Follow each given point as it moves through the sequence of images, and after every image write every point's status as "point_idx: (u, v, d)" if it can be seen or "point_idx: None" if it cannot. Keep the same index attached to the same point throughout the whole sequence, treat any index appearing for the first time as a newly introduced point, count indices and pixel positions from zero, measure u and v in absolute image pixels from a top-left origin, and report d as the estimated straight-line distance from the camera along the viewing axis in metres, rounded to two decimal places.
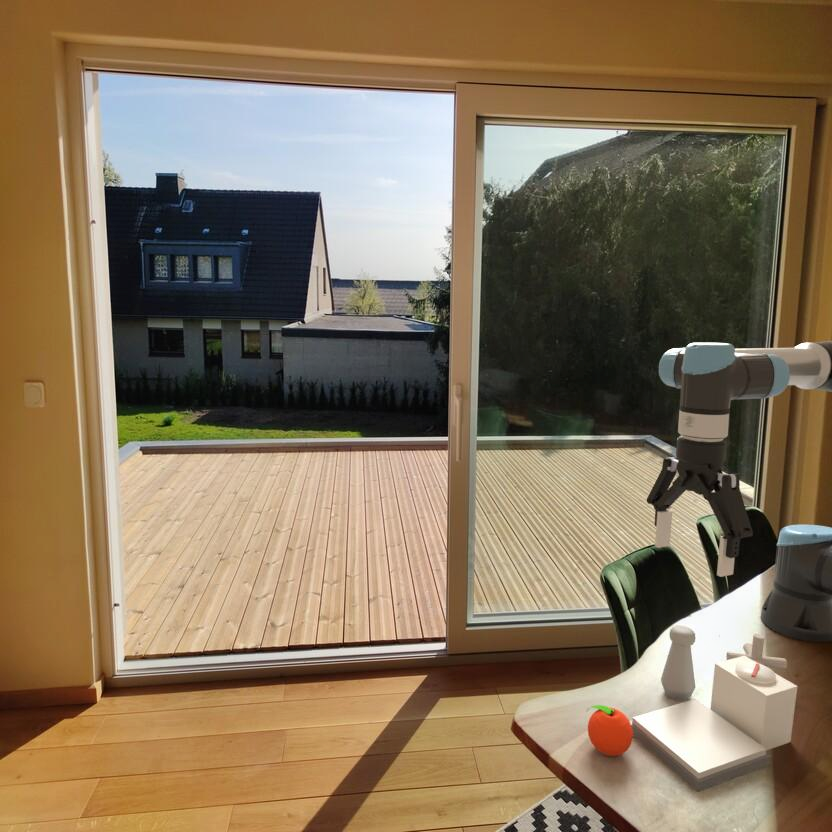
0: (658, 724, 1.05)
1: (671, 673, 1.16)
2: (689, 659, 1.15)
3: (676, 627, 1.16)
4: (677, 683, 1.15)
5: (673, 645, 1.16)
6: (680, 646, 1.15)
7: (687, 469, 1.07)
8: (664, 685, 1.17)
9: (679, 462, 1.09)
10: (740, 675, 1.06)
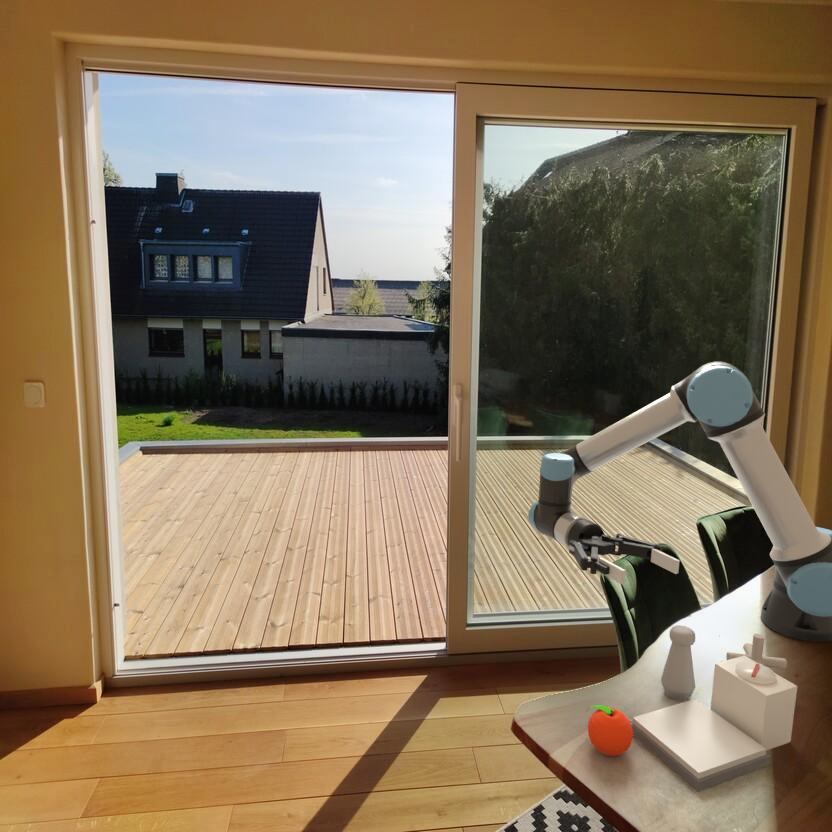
0: (658, 724, 1.05)
1: (671, 673, 1.16)
2: (689, 659, 1.15)
3: (676, 627, 1.16)
4: (677, 683, 1.15)
5: (673, 645, 1.16)
6: (680, 646, 1.15)
7: None
8: (664, 685, 1.17)
9: None
10: (740, 675, 1.06)
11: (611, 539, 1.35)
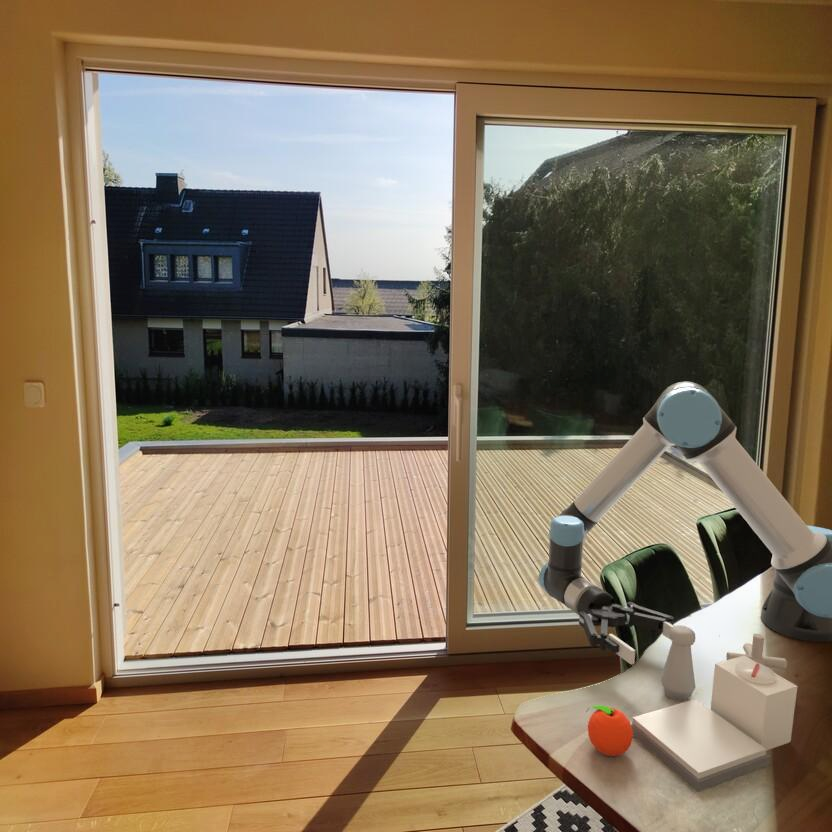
0: (658, 724, 1.05)
1: (671, 673, 1.16)
2: (689, 659, 1.15)
3: (676, 627, 1.16)
4: (677, 683, 1.15)
5: (673, 645, 1.16)
6: (680, 646, 1.15)
7: None
8: (664, 685, 1.17)
9: None
10: (740, 675, 1.06)
11: (622, 610, 1.32)
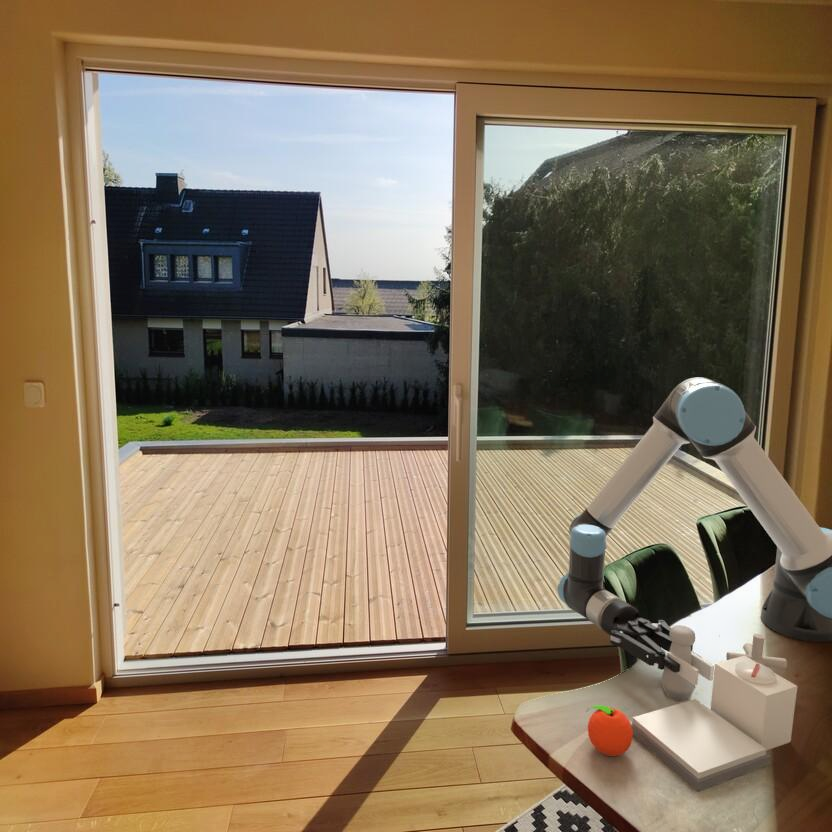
0: (658, 724, 1.05)
1: (671, 673, 1.16)
2: (689, 659, 1.15)
3: (676, 627, 1.16)
4: (677, 683, 1.15)
5: (673, 645, 1.16)
6: (680, 646, 1.15)
7: None
8: (664, 685, 1.17)
9: None
10: (740, 675, 1.06)
11: (645, 625, 1.26)
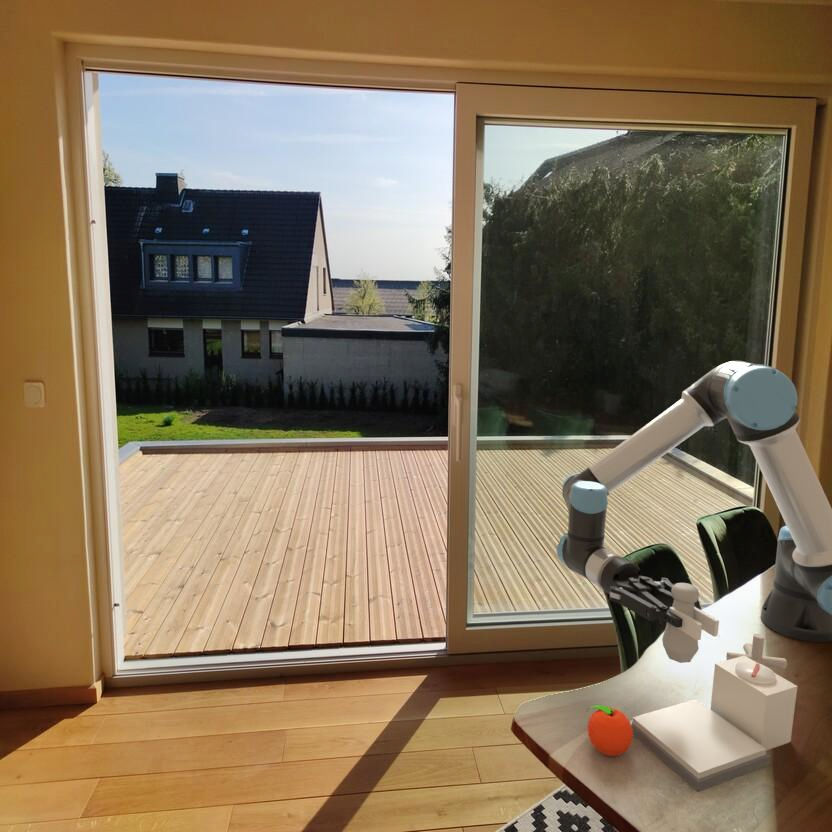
0: (658, 724, 1.05)
1: (672, 632, 1.09)
2: None
3: (678, 584, 1.10)
4: (677, 643, 1.08)
5: (675, 603, 1.09)
6: (682, 603, 1.08)
7: None
8: (664, 645, 1.10)
9: None
10: (740, 675, 1.06)
11: (647, 582, 1.19)
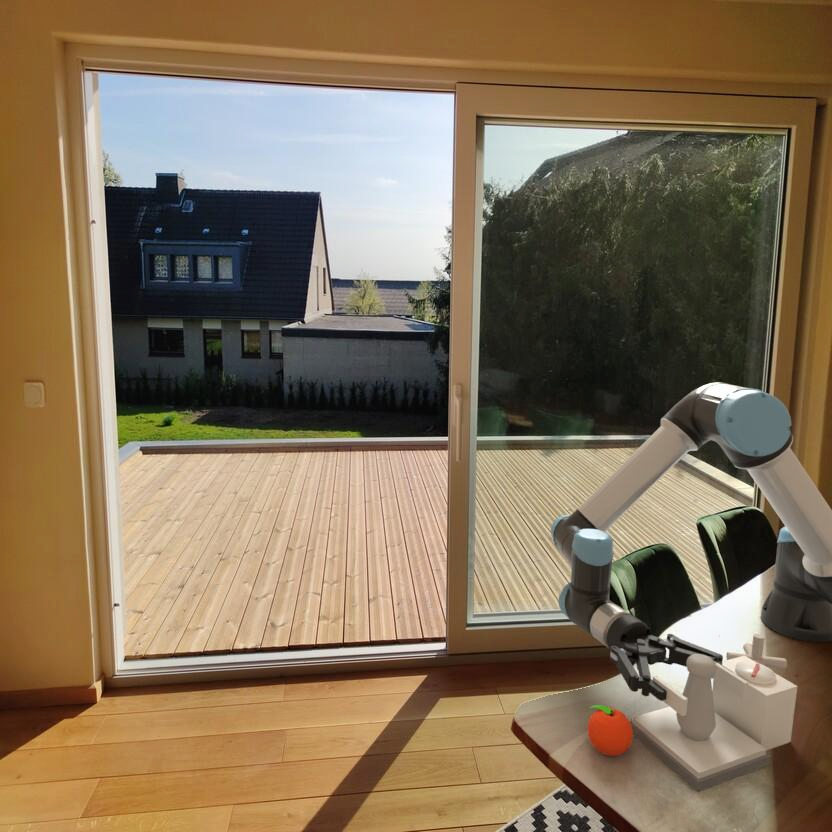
0: (658, 724, 1.05)
1: (688, 708, 1.01)
2: (709, 694, 1.00)
3: (694, 656, 1.02)
4: (693, 721, 1.00)
5: (690, 676, 1.02)
6: (698, 678, 1.00)
7: None
8: (679, 721, 1.02)
9: None
10: (740, 675, 1.06)
11: (660, 644, 1.11)
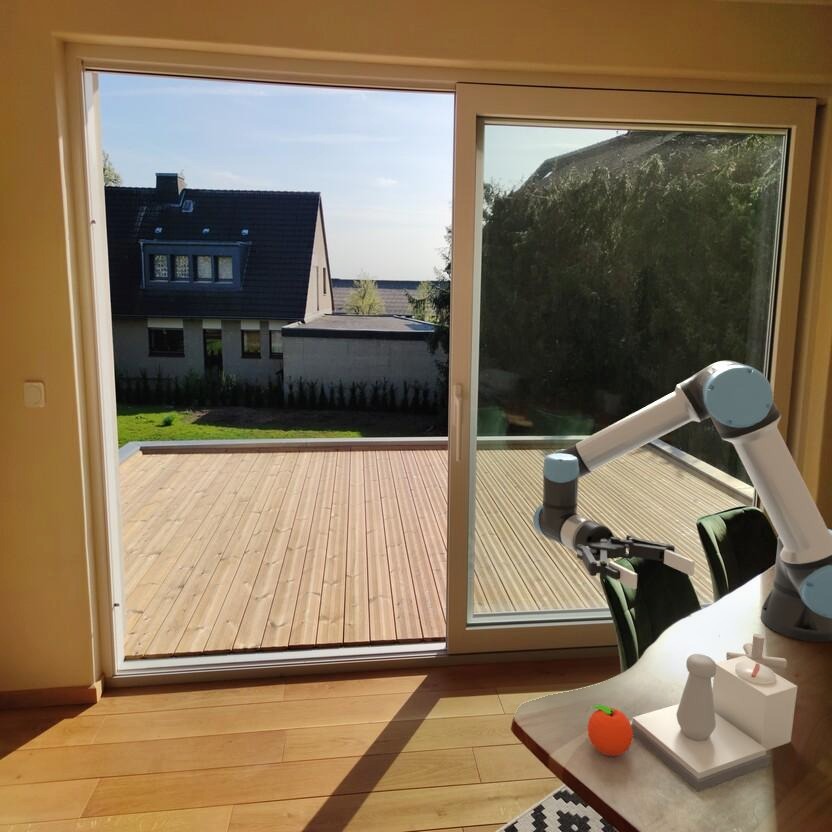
0: (658, 724, 1.05)
1: (688, 708, 1.01)
2: (709, 694, 1.00)
3: (694, 656, 1.02)
4: (693, 721, 1.00)
5: (690, 676, 1.02)
6: (698, 678, 1.00)
7: None
8: (679, 721, 1.02)
9: None
10: (740, 675, 1.06)
11: (621, 541, 1.28)
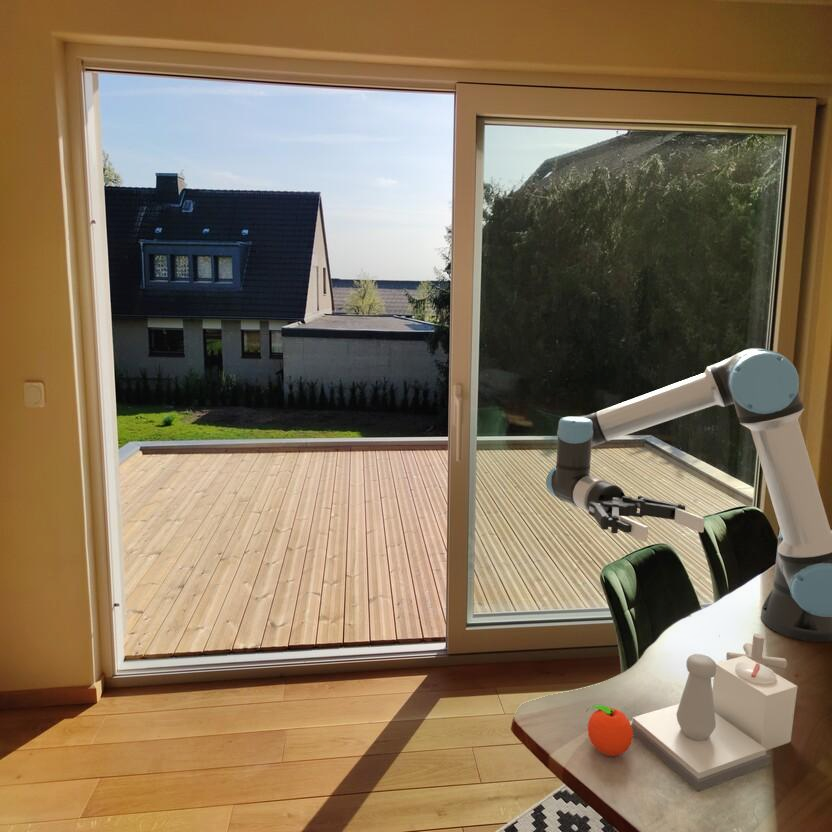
0: (658, 724, 1.05)
1: (688, 708, 1.01)
2: (709, 694, 1.00)
3: (694, 656, 1.02)
4: (693, 721, 1.00)
5: (690, 676, 1.02)
6: (698, 678, 1.00)
7: None
8: (679, 721, 1.02)
9: None
10: (740, 675, 1.06)
11: (632, 500, 1.30)
